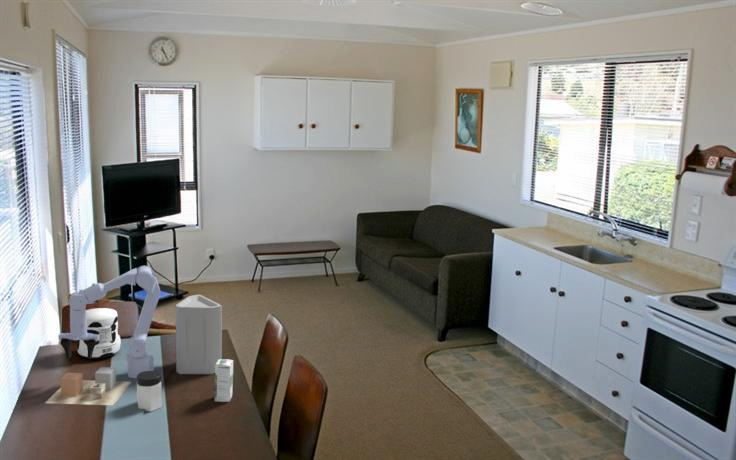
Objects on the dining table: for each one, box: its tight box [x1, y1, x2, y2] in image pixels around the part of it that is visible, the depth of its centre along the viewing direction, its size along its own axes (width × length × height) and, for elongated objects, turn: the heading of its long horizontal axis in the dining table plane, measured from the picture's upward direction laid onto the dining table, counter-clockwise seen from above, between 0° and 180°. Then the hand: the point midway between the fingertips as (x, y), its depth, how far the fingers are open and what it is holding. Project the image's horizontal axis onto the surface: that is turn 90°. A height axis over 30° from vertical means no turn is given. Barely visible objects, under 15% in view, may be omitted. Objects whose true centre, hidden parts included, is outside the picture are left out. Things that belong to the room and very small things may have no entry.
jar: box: [136, 370, 163, 412], centre depth 235 cm, size 9×8×12 cm
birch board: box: [44, 379, 132, 406], centre depth 243 cm, size 24×20×1 cm
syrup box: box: [213, 358, 234, 403], centre depth 243 cm, size 6×6×14 cm
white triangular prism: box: [175, 294, 223, 375], centre depth 268 cm, size 19×15×28 cm
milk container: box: [76, 307, 122, 359], centre depth 279 cm, size 17×17×18 cm
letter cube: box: [90, 383, 106, 399], centre depth 240 cm, size 4×4×4 cm
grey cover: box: [94, 366, 117, 390], centre depth 247 cm, size 6×6×6 cm
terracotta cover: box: [60, 372, 84, 396], centre depth 241 cm, size 6×6×6 cm
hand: (79, 357), depth 251 cm, fingers open, 7 cm apart
